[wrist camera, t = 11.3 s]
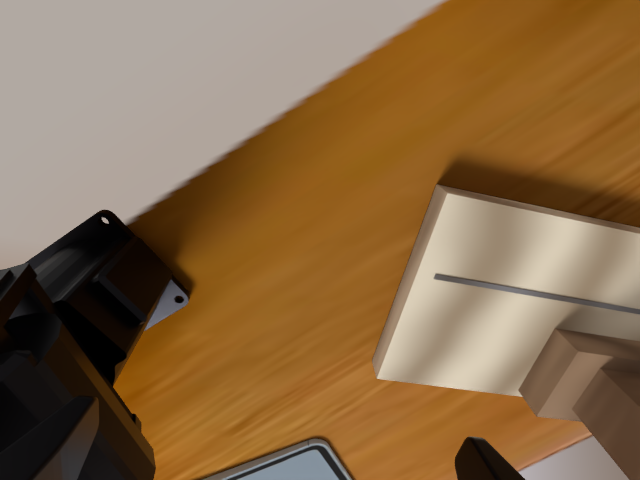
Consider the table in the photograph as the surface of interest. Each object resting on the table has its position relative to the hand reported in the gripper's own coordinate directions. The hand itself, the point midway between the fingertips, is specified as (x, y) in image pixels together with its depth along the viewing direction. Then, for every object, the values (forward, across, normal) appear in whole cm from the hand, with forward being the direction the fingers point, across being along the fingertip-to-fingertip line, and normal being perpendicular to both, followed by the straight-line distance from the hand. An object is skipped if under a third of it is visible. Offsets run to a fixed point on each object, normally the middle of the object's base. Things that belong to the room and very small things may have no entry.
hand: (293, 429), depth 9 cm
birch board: (+12, -16, +2) cm, 20 cm away
